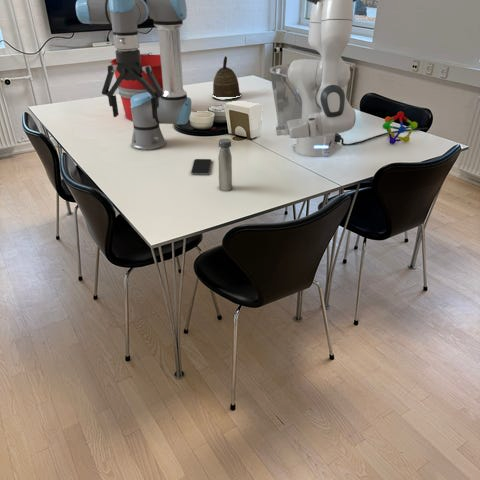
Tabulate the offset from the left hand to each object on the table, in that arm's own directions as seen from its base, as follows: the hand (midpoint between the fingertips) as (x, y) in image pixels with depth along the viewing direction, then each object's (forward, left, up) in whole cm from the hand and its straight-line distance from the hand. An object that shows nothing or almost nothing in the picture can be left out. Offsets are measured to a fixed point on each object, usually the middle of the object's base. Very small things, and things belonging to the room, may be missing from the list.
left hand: (135, 116), depth 150 cm
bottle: (-7, +30, -28) cm, 41 cm away
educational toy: (-67, +102, -28) cm, 125 cm away
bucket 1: (-95, -27, -28) cm, 103 cm away
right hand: (-24, +47, -11) cm, 54 cm away
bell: (-140, +10, -28) cm, 143 cm away
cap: (-7, +30, -10) cm, 32 cm away
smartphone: (-25, +17, -28) cm, 41 cm away
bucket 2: (-88, +55, -28) cm, 107 cm away
